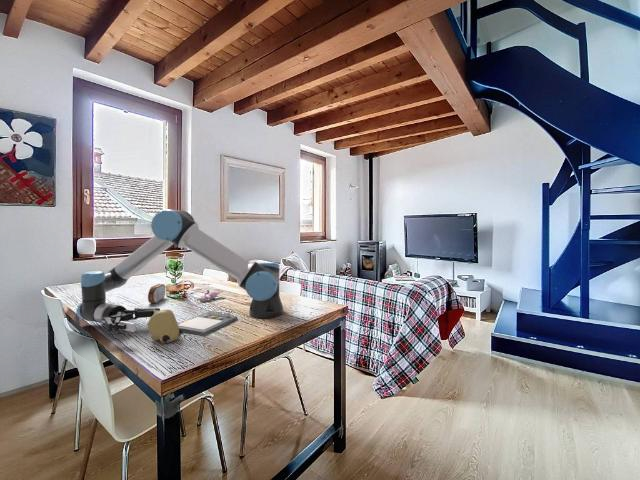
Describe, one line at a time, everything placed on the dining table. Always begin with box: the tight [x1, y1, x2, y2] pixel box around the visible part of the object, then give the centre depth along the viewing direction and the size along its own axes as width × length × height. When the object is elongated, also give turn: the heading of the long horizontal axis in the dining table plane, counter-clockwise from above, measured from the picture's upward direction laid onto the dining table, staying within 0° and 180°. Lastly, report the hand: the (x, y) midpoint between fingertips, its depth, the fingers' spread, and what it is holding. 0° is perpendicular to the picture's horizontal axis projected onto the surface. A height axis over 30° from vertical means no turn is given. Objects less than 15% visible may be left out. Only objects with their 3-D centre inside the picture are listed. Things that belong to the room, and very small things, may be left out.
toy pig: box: [146, 309, 183, 344], centre depth 110 cm, size 10×12×11 cm
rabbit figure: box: [196, 289, 224, 303], centre depth 164 cm, size 6×6×15 cm
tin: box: [147, 283, 167, 304], centre depth 160 cm, size 15×3×8 cm, turn 4°
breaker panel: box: [177, 309, 238, 336], centre depth 126 cm, size 16×20×3 cm
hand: (151, 321), depth 111 cm, fingers open, 13 cm apart
